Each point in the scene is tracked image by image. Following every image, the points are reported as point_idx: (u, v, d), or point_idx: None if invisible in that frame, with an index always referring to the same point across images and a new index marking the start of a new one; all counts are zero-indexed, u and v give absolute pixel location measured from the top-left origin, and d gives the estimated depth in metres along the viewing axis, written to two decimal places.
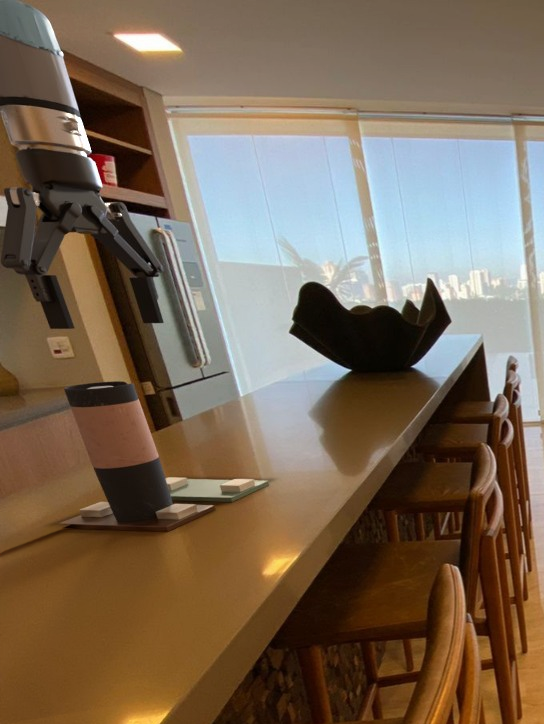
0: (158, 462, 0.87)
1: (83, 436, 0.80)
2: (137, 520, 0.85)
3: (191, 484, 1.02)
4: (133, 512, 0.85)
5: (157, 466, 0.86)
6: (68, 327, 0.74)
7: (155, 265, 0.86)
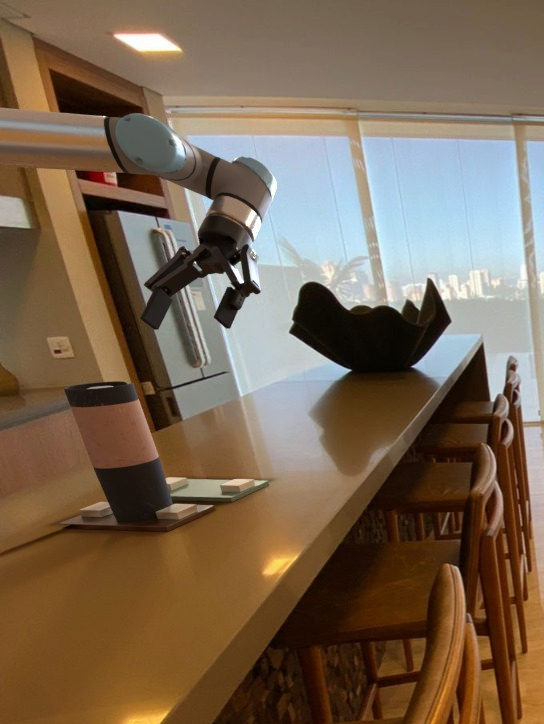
0: (158, 462, 0.87)
1: (83, 436, 0.80)
2: (137, 520, 0.85)
3: (191, 484, 1.02)
4: (133, 512, 0.85)
5: (157, 466, 0.86)
6: (230, 327, 0.95)
7: None
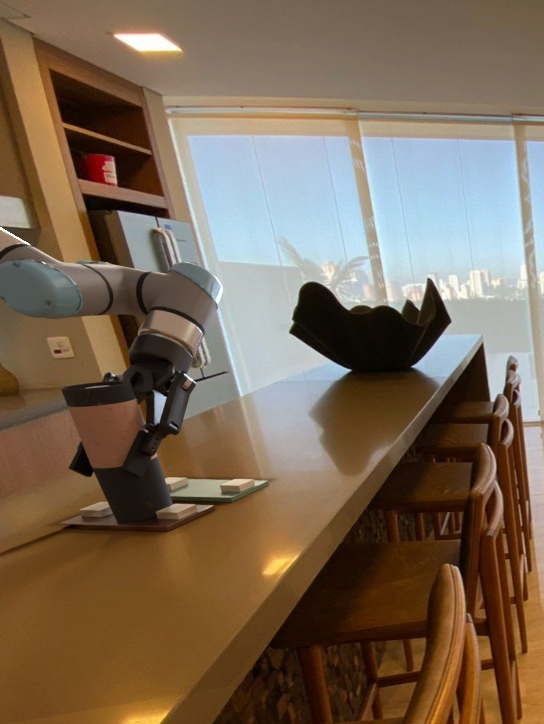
0: (157, 461, 0.86)
1: (81, 436, 0.80)
2: (137, 520, 0.85)
3: (191, 484, 1.02)
4: (133, 512, 0.85)
5: (155, 466, 0.86)
6: (142, 476, 0.83)
7: None
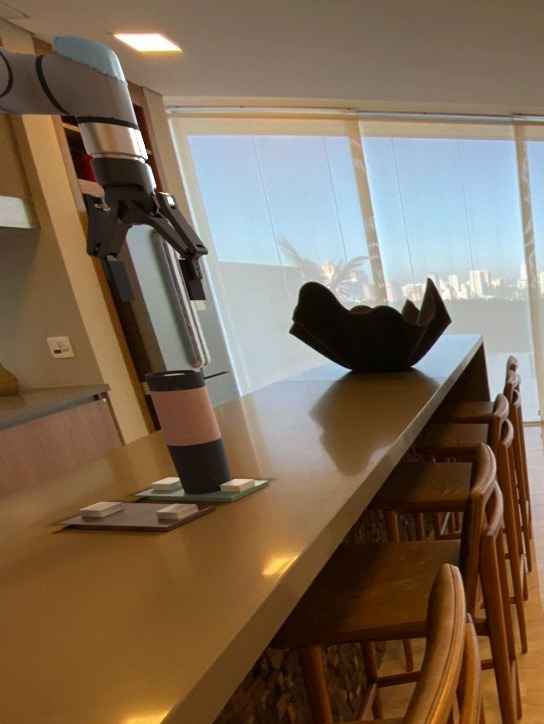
0: (221, 441, 0.98)
1: (160, 417, 0.92)
2: (203, 492, 0.97)
3: None
4: (200, 485, 0.96)
5: (220, 445, 0.98)
6: (205, 298, 0.99)
7: None
